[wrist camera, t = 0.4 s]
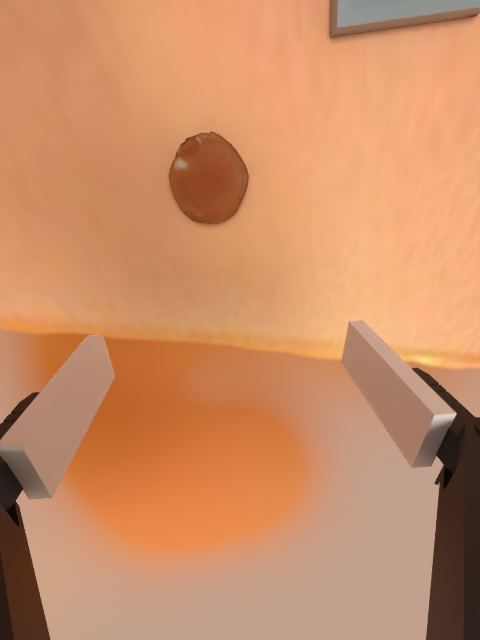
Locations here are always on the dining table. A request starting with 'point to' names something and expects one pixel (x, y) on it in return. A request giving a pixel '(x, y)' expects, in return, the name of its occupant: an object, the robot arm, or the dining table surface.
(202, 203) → the burger
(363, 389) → the robot arm
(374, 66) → the dining table surface
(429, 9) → the tray
